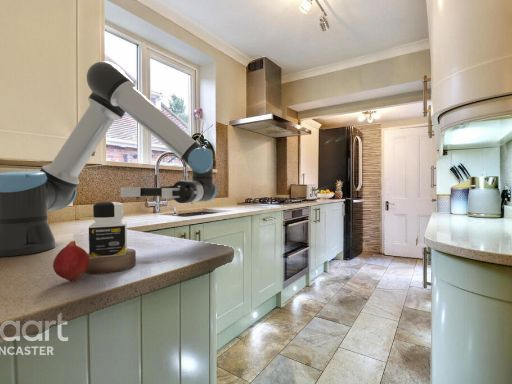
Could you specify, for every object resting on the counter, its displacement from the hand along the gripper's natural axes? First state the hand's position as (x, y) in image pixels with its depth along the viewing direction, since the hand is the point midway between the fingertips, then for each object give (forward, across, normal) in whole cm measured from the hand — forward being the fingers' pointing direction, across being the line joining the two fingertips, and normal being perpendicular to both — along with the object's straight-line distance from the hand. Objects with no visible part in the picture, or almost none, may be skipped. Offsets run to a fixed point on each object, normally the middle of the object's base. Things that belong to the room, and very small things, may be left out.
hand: (141, 192), depth 72 cm
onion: (+20, -1, -17) cm, 26 cm away
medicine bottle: (+10, 0, -14) cm, 17 cm away
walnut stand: (+10, 0, -17) cm, 20 cm away
